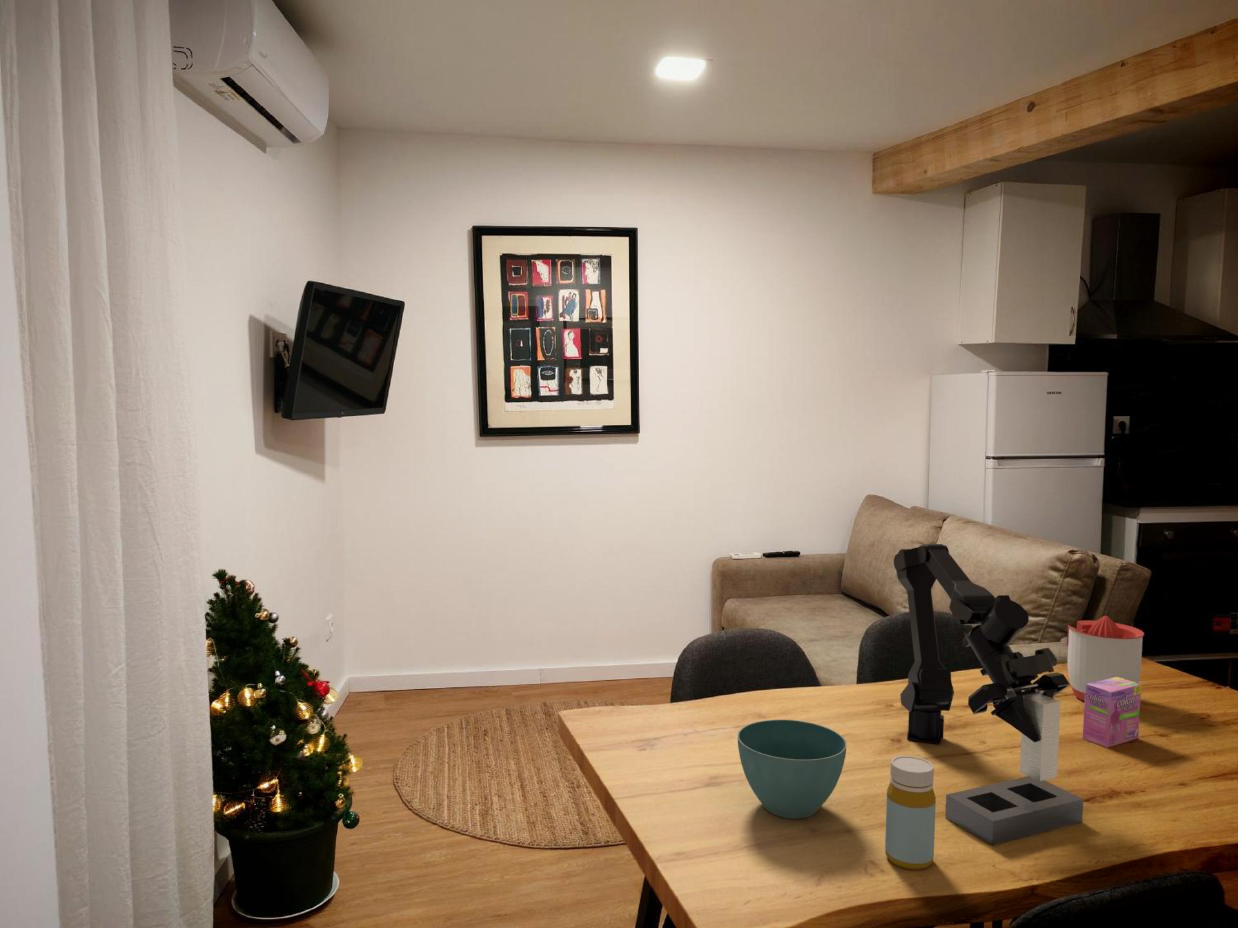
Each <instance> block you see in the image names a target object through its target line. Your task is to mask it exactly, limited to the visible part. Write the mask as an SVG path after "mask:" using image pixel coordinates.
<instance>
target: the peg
mask: <svg viewBox="0 0 1238 928" xmlns="http://www.w3.org/2000/svg"><path fill="white" fill-rule="evenodd" d="M1023 707H1024V710H1025V711H1026V713H1027V715H1028V717H1029V719H1030V720H1031V722H1032V724H1033V726H1034V728H1035V730H1036V732H1037V734H1038V736H1039V738H1040V740H1039V741H1037V742H1033V741H1032V740H1030V739H1029V738H1028V737H1026V736H1025V735H1024V734H1022V733H1021V739H1020V760H1019V772H1020V773H1021V774H1024V775H1026V776H1030V777H1032V778H1034V779H1036V780H1038V781H1043V780H1045V781H1047V780H1051V779H1054V778H1058V764H1059V763H1058V762H1059V761H1058V760H1059V741H1060V740H1059V739H1060V724H1061V723H1060V720H1061V719H1060V718H1061V700H1057V699H1055V698H1053V699H1052V698H1050V697H1047V696H1044V695H1042V694H1037V695H1032V696H1026V697H1023Z"/></svg>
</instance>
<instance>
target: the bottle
mask: <svg viewBox="0 0 1238 928" xmlns="http://www.w3.org/2000/svg"><path fill="white" fill-rule="evenodd" d="M934 769H935V768H934V764H933V763H931V762H930V761H929V760H927V759H925V758H921V757H918V756H913V755H898V756H896V757H893V758H892V759H891V761H890V773H889V774H890V778H889V779H890V781H889V784H888V787H887V789H886V805H885V806H886V807H885V808H886V812H885V837H884V838H885V839H884V849H885V850H884V851H885V852H884V853H885V855H886V857H887V858H888V860H889V861H890V862H891V863H892V864H894V866H896V867H897V866H898V867H900V868H902V869H905V870H910V871H912V870H913V871H921V870H924V869H927V868H928V867H930V865H932V864H933V862H934V856H935V832H936V831H935V830H936V804H937V803H936V802H937V801H936V794H935V791H934V774H935V771H934Z"/></svg>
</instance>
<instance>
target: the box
mask: <svg viewBox="0 0 1238 928" xmlns="http://www.w3.org/2000/svg"><path fill="white" fill-rule="evenodd" d="M1142 687H1143V686H1142V684H1140V682H1139V683H1136V682H1133V681H1129V680H1126V679H1123V678H1119V677H1113V678H1109V679H1105V680H1101V681H1097V682H1093V683H1089V684H1086V687H1085V701H1084V702H1083V703H1084V707H1083V709H1084V710H1083V720H1082V721H1083V724H1082V725H1083V726H1082V739H1083V740H1086V741H1088V742H1090V743H1094V744H1096V745H1099V746H1101V747H1104V748H1107V749H1108V748H1111V747H1115V746H1117V745H1121V744H1124V743H1127V742H1131V741H1135V740H1138V739H1139V730H1140V729H1139V726H1140V714H1141V713H1140V712H1141V697H1142Z"/></svg>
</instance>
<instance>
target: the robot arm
mask: <svg viewBox="0 0 1238 928" xmlns="http://www.w3.org/2000/svg"><path fill="white" fill-rule="evenodd" d="M893 566H894V568H895V569H894V570H895V572H896V576H897V580H898V581H899V583H900V584H901V586H902V587H903V588H904V589H905V591H906V594H907V603H908V613H909V620H910V621H909V622H910V631H911V639H912V648H913V658H914V662H913V664H912V666H911V668H910V670H909V672H908V675H907V681H908V683H907V684H906V686H905V688H903V690H902V691H901V693H900V694H899V695H900V704H901V706H902V707H904V709H906V710H907V711H908V723H907V724H908V725H907V735H906V739H907V740H908V741H915V742H922V743H927V744H928V743H929V744H935V745H940V744H941V743H942V742H941V740H942V739H944V734H945V733H944V729H945V715H943V714H942V712H943V711H945V712H950V710H951V708H952V707H951V706H952V703H953V702H952V701H953V699H954V695H955V690H954V686H953V683H952V672H951V670H950V668H948V667H945V666H944V665H943V663H942V662H941V660H940V655H939V646H938V638H937V629H936V628H937V627H936V620H935V613H934V612H935V611H934V604H933V603H934V602H933V594H932V589H933V586H934V584H935V583H936V581H938V583H939V585H940V586H941V587H942V589H943V590H944V591H945V592H946V595H947V596H948V598H949V599H950V602H949V606H948V607H949V611H950V612H951V614H952V617H953V618H954V620H955V621H956V622H957V624H959V625H960V626H961V625H962V626H971V625H973V627H972V629H971V630H967V631H964V637H963V640H962V645H963V646H962V647H964V648H967V647H971V649H972V650H973V653H974V654H975V656H976V657H977V659H978V660H979V662H980V664H981V666H982V667H983V668H982V669H980V670H979V672H980V674H981V676H983V677H985V676H988V678H989V679H990V681H991V682H992V683H987V684H983V685H981V686H980V687H978V689H977V690H975V691H974V692H972V693H971V694H970V695H969V696H968V697H967V698H968V699H967V704H968V707H969V708H970V710H971V712H972V714H973V715H977V714H981V713H986V712H987V711H988V705H989V704H993V706H992V707H993V708H994V709H993V710H991V712H990V715H992V716H996V717H997V718H999V719H1001V720H1002V721H1004V722H1005V723H1007V724H1008V725H1010V726H1011V727H1012V728H1014V729H1015V730H1016V731H1018V732H1020V733H1021V735H1022V734H1024V735H1025V736H1026V737H1028V738H1029V739H1030V740H1032V741H1033V742H1037V741H1039V740H1040V738H1039V736H1038V734H1037V732H1036V730H1035V728H1034V726H1033V724H1032V722H1031V720H1030V719H1029V717H1028V715H1027V713H1026V711H1025V710H1024V707H1023V697H1026V696H1032V695H1037V694H1042V695H1044V696H1047V697H1050V698H1052V699H1054V697H1055V696H1057V695H1059V694H1060V693H1061V692H1063V691H1064V690H1065V689H1067V688H1068V687H1069V686H1071V683H1069V682H1070V681H1069V680H1068V679H1067V677H1066V676H1065V675H1064V673H1061V672H1055V669H1054V667H1056V666H1057V664H1058V659H1057V657H1056V656H1055V654H1054V653H1053V651H1052V650H1051V649H1050V647H1044V648H1041V649H1036V650H1035V651H1034V654H1033V655H1030V656H1024V655H1023V653H1021V652H1020V651H1013V650H1012V648H1011V646H1010V645H1009V644H1010V643H1011V642H1013V640H1015V638H1016V637H1017V636H1019V634H1020V633H1021V632H1022V631H1023V629H1024V628H1025V627H1026V626H1027V625H1028V623H1029V622H1030V621H1029V620H1030V619H1029V613H1028V611H1027V610H1026V609H1025V608H1024V607H1023V606H1022V605H1021V604H1019V603H1018V602H1016V601H1014V600H1011V597H1010V595H1009V594H997V595H996V597H995V595H993V594H992V593H991V592H990V591H989V590H988V589H987V588H985V587H984V586H981V585H979V584H976V583H974V582H973V581H972V580H971V579H970V578H969V577H968V575H967V574H966V572H965V571H963V569H962V568H961V566H960V565H959V564H958V563H957V562H956V561H955V559H954V558H953V556H952V555H951V553H950V551H949V547H948V546H947V545H944V544H943V543H924V544H923V545H919V546H917V547H914V548H901V549H899V550H898V552H897V553H896V554H895V555H894V557H893ZM974 625H975V626H974ZM1043 673H1044V674H1043ZM1039 675H1041V676H1040V677H1039ZM1034 680H1035V681H1034ZM1032 681H1033V682H1032Z"/></svg>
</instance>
